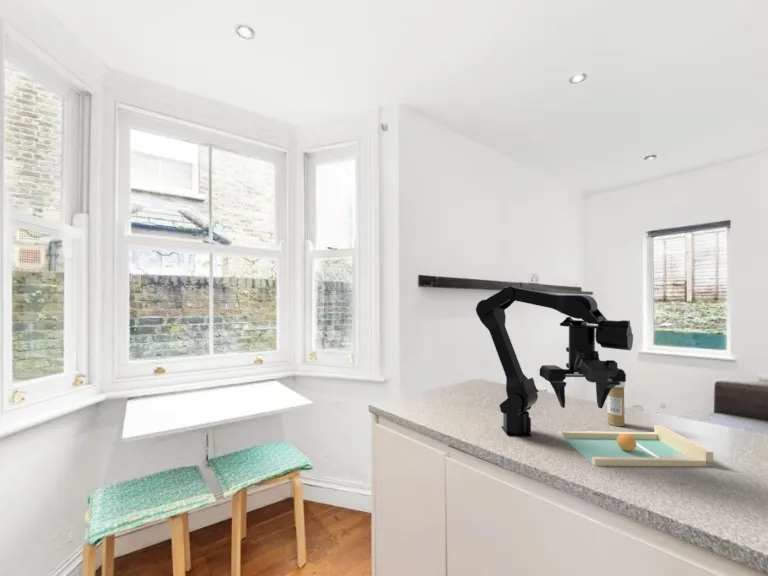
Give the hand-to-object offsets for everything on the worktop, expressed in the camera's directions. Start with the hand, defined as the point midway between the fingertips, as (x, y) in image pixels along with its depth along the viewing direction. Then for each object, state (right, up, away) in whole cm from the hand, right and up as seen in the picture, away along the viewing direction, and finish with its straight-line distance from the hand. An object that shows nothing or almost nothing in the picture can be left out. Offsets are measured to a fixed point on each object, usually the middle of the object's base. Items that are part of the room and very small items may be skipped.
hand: (581, 407), depth 88 cm
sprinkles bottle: (+20, -11, +18) cm, 29 cm away
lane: (+12, -11, -1) cm, 16 cm away
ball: (+11, -8, -1) cm, 14 cm away
